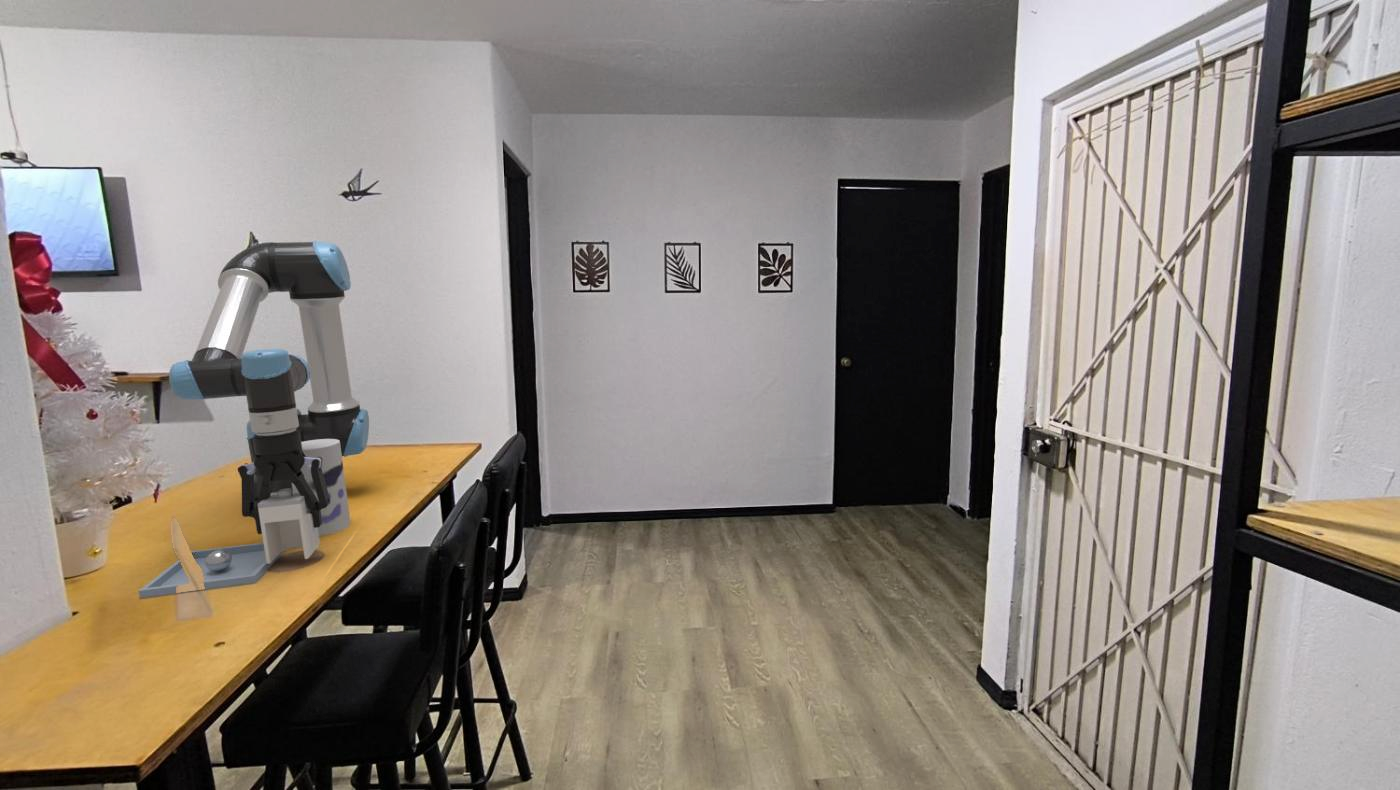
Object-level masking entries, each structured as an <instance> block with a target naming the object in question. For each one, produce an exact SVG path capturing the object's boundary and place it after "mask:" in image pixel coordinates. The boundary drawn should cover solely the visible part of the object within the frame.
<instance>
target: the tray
mask: <svg viewBox="0 0 1400 790" xmlns="http://www.w3.org/2000/svg"><path fill="white" fill-rule="evenodd" d="M218 550H223V551H226V552H228V553H229V554H230V555H231V558H232V561H231V564H230V566H229V567H228V568H227V569H225V570H223V571H220V572H213V571H210V570H209V569H208V568H207V567H206V565H205V561H206V558H207V557H208V555H209V554H211V553H212V552H214V551H218ZM286 551H287V550H282V551H281V552H280V554H279V555H278V556H277V557H276V558H275V559H274V560H273V561H272V562H271V563H269V564H267V562H266V556H265V549H264V543H263V542H258V543H251V544H250V543H247V544H241V545H240V544H239V545H232V546H223V547H216V548H215V547H214V548H207V549H198V550H197V549H196V550H191V553H192V555H193V557H194V559H195V561H196V563H197V564H198V565H199V566H200V568H201V569H202V573H203V577H204V581H203V583H204V587H205V590H204V591H208V590H215V589H222V588H230V587H231V588H232V587H237V586H245V585H255V584H257V583H258V582H259V580H260V579H261V578H262V577H263V576H264V575H265V574H266V573H267V572H268V571H267V570H268V569H269V568H270V567H271V566H272V565H273V564H274V563H275V561H276V560H277V559H278V558H279V557H280V556H283V555H284V553H285V552H286ZM188 582H189V578H188V576H187V574H186V573H185V571H184V569H183V567H182V565H181V562H180V561H179V559H178V560H176V561H175V562H174V563H173V564H171V565H170V566H168V568H166V569H165V570H163V571H162V572H161V573H160V574H158V575H157V576H155V578H153V579H152V580H150V582H148V583H147V584H146V585H145V586H143V587H142V588H140V589H139V590H138V593H139V598H140V600H141V599H147V598H154V597H163V596H169V595H171V596H172V595H177V594H176V587H177V586H179V585H184V584H190V583H191V582H190V583H188Z"/></svg>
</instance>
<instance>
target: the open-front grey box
mask: <svg viewBox="0 0 1400 790" xmlns="http://www.w3.org/2000/svg"><path fill="white" fill-rule="evenodd" d="M311 490H312V489H311ZM258 511H259V517H260V524H261V530H262V534H261V535H262V536H261V537H262V543H264V549H265V556H266V562H267V564H269V563H271V562H272V561H273V560H274V559H275V558H276V557H277V556H278V555H279V554H280V552H281V551H282V550H286V551H287V550H295V549H303V550H302V551H304V557H305V559H308V558H309V557H310V556H311V555H312V553H313V552H314V551H315V550H317V549H318V547H319V546H320V540H319V541H318V543H317V544H316V545H315V546H311V543H310V536H309V529H308V522H307V515H306V514H307V513H308V512H309V511H310V509H309V508H308V506H307V505H306V503H305V499H304V496H301V495H300V493H299V492H298V490H295V491H292V489H291V488H286V489H281V490H278V491H277V492H275V493H271V495H270V497H268V498H267V499H266V500H262V501H261V502H260V503H258Z"/></svg>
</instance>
